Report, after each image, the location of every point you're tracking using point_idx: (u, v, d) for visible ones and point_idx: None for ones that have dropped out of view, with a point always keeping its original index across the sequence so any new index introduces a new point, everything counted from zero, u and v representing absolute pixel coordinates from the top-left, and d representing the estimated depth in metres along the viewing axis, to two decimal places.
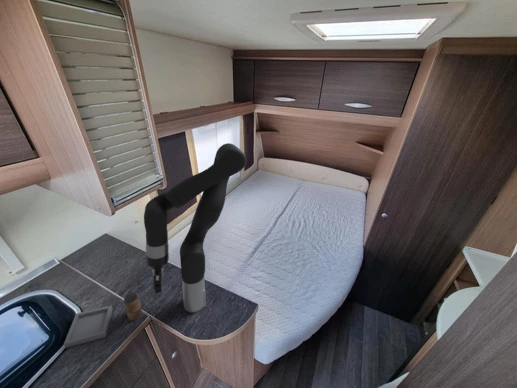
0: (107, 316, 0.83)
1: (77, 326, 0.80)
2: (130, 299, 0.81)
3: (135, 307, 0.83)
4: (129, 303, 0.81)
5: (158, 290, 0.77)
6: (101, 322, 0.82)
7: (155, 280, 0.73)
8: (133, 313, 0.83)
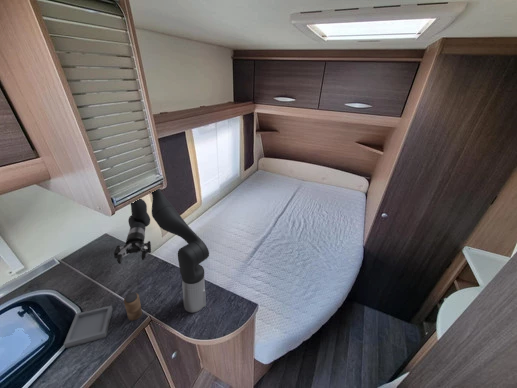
0: (107, 316, 0.83)
1: (77, 326, 0.80)
2: (130, 299, 0.81)
3: (135, 307, 0.83)
4: (129, 303, 0.81)
5: None
6: (101, 322, 0.82)
7: None
8: (133, 313, 0.83)
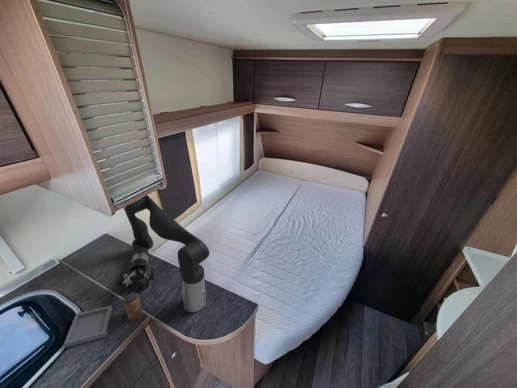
0: (107, 316, 0.83)
1: (77, 326, 0.80)
2: (130, 299, 0.81)
3: (135, 307, 0.83)
4: (129, 303, 0.81)
5: None
6: (101, 322, 0.82)
7: None
8: (133, 313, 0.83)
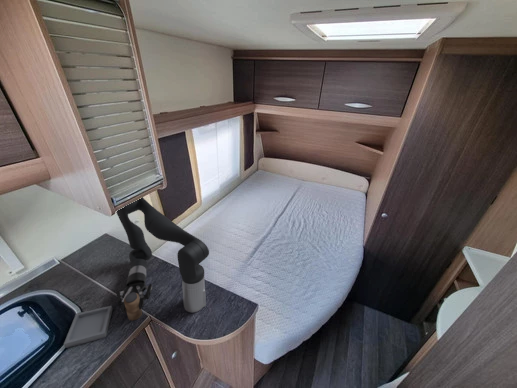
0: (107, 316, 0.83)
1: (77, 326, 0.80)
2: (130, 299, 0.81)
3: (135, 307, 0.83)
4: (129, 303, 0.81)
5: None
6: (101, 322, 0.82)
7: None
8: (133, 313, 0.83)
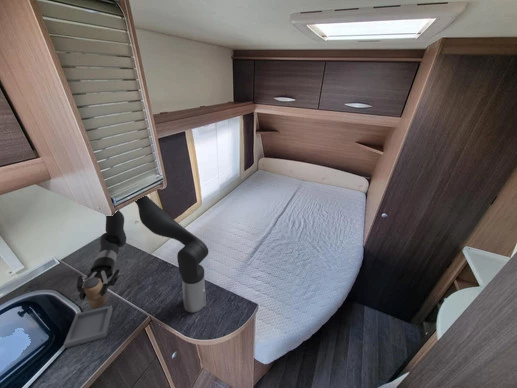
0: (107, 316, 0.83)
1: (77, 326, 0.80)
2: (90, 284, 0.73)
3: (96, 293, 0.74)
4: (88, 289, 0.72)
5: None
6: (101, 322, 0.82)
7: None
8: (94, 300, 0.74)
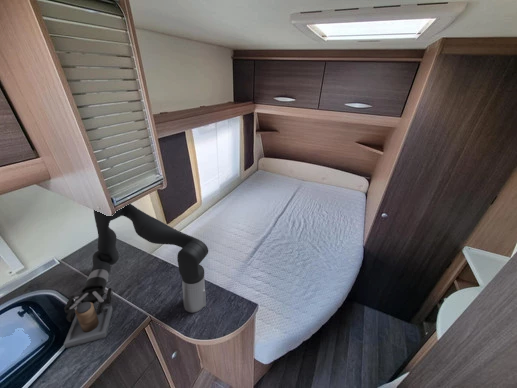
0: (107, 316, 0.83)
1: (77, 326, 0.80)
2: (82, 309, 0.75)
3: (88, 318, 0.76)
4: (80, 314, 0.74)
5: None
6: (101, 322, 0.82)
7: None
8: (86, 324, 0.77)
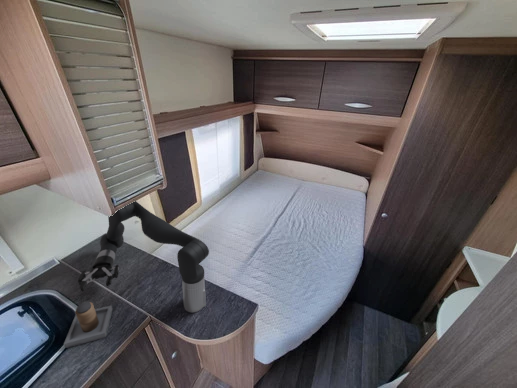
0: (107, 316, 0.83)
1: (77, 326, 0.80)
2: (82, 309, 0.75)
3: (88, 318, 0.76)
4: (80, 314, 0.74)
5: None
6: (101, 322, 0.82)
7: None
8: (86, 324, 0.77)
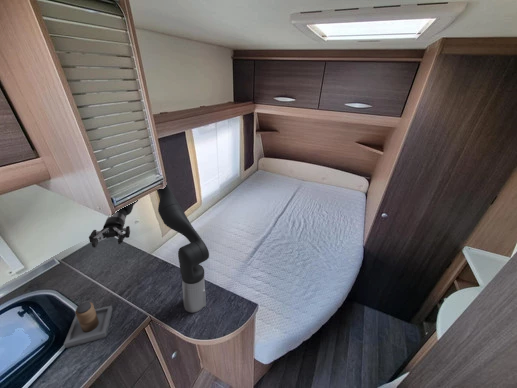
0: (107, 316, 0.83)
1: (77, 326, 0.80)
2: (82, 309, 0.75)
3: (88, 318, 0.76)
4: (80, 314, 0.74)
5: None
6: (101, 322, 0.82)
7: None
8: (86, 324, 0.77)
